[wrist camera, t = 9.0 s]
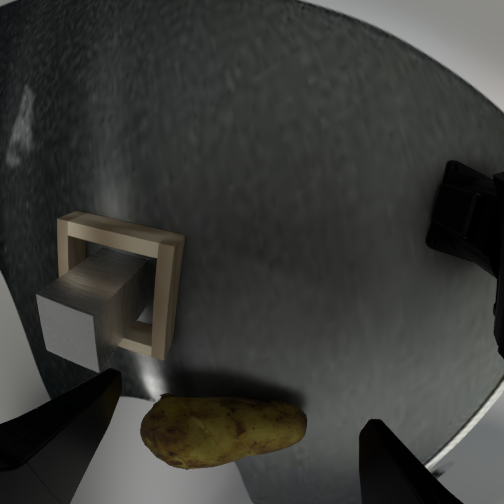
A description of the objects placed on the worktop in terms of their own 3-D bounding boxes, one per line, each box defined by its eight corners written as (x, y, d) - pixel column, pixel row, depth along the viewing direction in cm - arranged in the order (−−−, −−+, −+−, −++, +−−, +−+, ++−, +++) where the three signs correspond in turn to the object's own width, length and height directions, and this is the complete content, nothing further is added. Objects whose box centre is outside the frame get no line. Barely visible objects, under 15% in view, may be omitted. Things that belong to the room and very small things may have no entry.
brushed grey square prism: (149, 259, 21) (92, 316, 13) (146, 306, 22) (99, 372, 14) (102, 247, 21) (36, 294, 13) (102, 293, 22) (46, 349, 14)
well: (185, 235, 20) (174, 246, 17) (173, 341, 23) (163, 360, 20) (77, 210, 20) (57, 218, 17) (79, 311, 23) (64, 325, 20)
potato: (269, 441, 27) (267, 505, 19) (152, 396, 25) (125, 459, 18) (316, 396, 24) (324, 470, 16) (179, 339, 23) (146, 413, 15)
